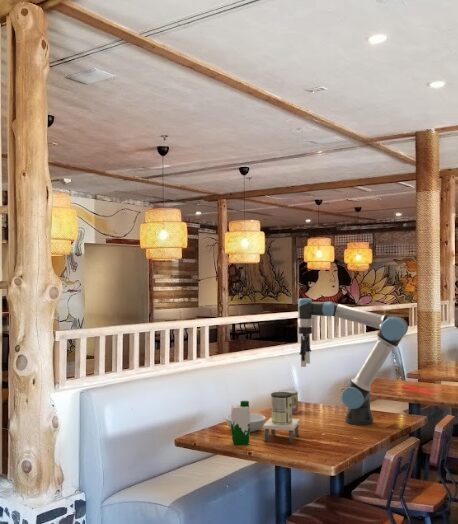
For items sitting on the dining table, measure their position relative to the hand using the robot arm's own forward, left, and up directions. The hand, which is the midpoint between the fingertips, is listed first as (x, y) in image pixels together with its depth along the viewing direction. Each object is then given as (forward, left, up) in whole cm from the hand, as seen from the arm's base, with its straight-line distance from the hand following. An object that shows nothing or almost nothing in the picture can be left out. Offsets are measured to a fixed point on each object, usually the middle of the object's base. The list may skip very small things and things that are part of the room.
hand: (305, 365), depth 335 cm
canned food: (+15, -28, -32) cm, 45 cm away
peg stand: (+6, +36, -32) cm, 48 cm away
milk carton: (+24, +50, -32) cm, 64 cm away
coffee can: (+6, +36, -24) cm, 44 cm away
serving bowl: (+28, +24, -32) cm, 49 cm away
